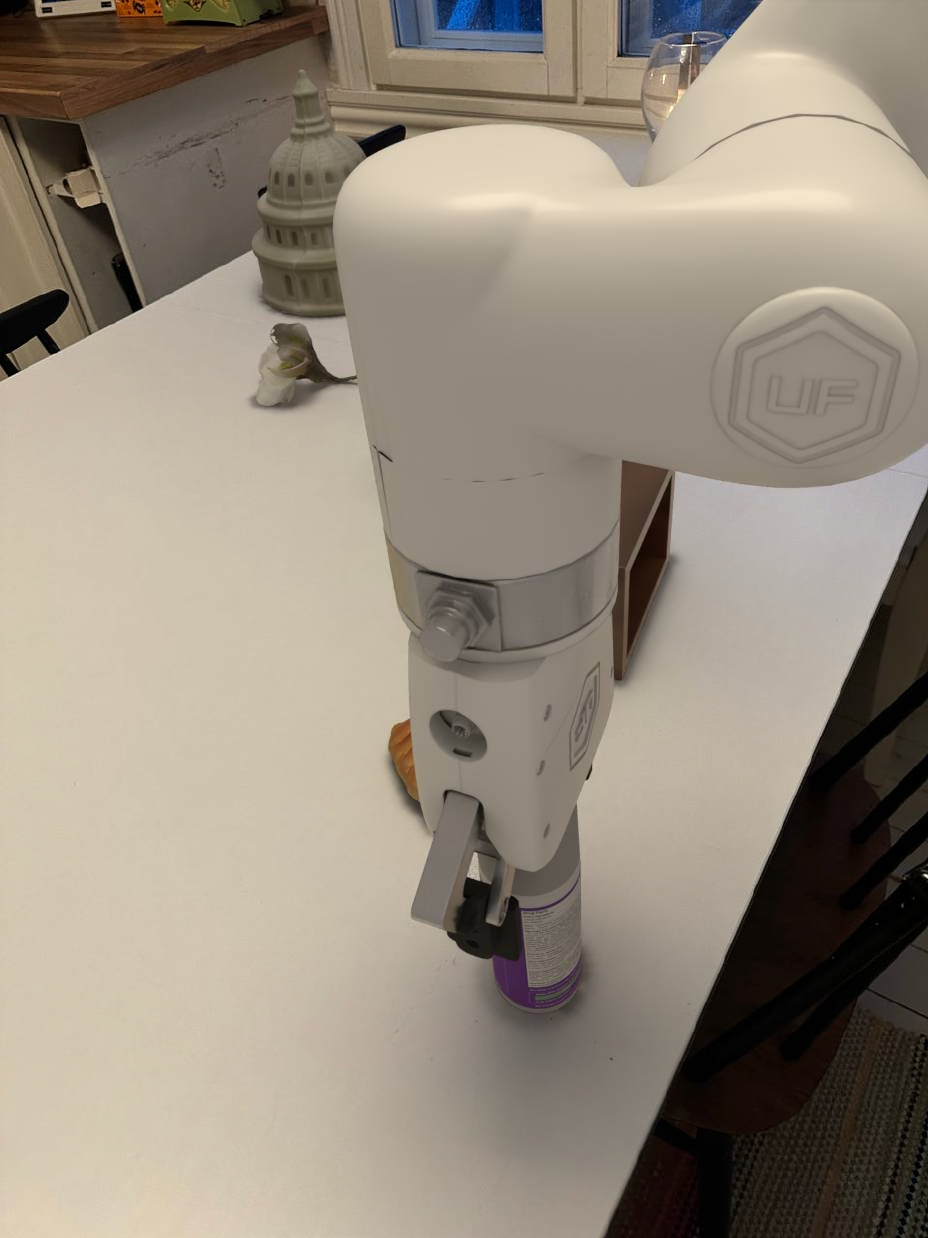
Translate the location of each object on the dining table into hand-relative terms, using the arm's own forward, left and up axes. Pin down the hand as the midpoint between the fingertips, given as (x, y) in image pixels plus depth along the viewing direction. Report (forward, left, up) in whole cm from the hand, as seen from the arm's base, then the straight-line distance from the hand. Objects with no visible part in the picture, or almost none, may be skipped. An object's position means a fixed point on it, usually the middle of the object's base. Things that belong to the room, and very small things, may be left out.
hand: (525, 851), depth 42 cm
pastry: (+9, -10, -11) cm, 18 cm away
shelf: (+7, -29, -11) cm, 32 cm away
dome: (+56, -81, -11) cm, 99 cm away
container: (0, 0, -11) cm, 11 cm away
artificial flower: (+40, -55, -11) cm, 69 cm away
